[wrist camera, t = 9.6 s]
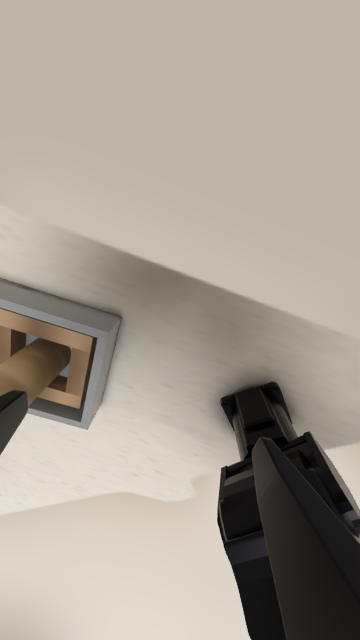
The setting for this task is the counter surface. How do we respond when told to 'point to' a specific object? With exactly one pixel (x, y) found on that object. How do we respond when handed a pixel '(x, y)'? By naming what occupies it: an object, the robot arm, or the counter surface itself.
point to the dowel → (34, 367)
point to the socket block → (10, 337)
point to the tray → (78, 320)
